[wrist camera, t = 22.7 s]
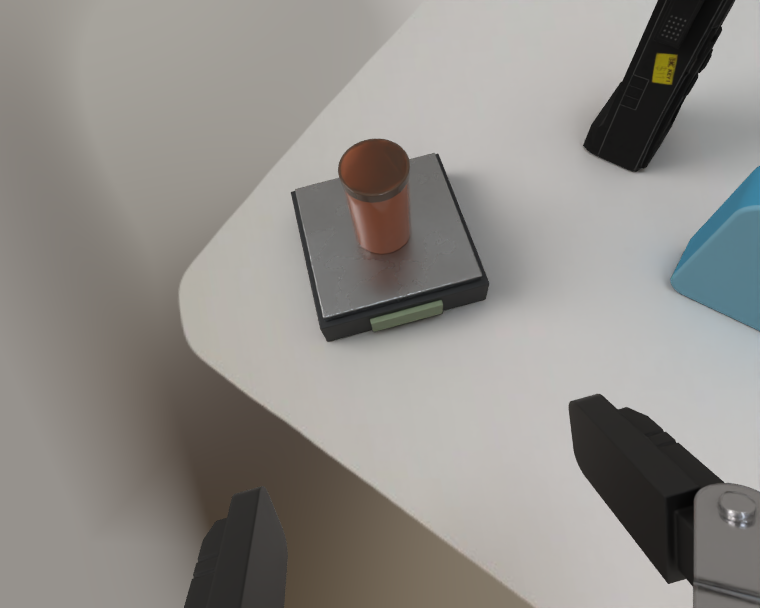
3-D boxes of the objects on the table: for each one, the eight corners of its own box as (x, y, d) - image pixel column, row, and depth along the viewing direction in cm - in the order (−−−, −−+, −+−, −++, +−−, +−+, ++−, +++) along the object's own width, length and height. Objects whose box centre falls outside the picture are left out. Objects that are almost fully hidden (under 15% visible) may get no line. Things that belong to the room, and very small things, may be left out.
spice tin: (361, 262, 40) (346, 203, 33) (348, 213, 42) (331, 148, 35) (420, 246, 40) (418, 185, 33) (404, 198, 42) (399, 130, 35)
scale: (328, 347, 41) (321, 335, 39) (298, 210, 47) (290, 191, 45) (487, 304, 42) (492, 289, 39) (437, 174, 48) (438, 153, 45)
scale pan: (325, 322, 39) (323, 318, 38) (296, 194, 44) (294, 188, 44) (481, 279, 39) (482, 275, 39) (434, 158, 45) (434, 152, 44)
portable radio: (636, 184, 45) (846, -159, 23) (575, 157, 47) (713, -185, 24) (670, 128, 48) (893, -235, 25) (611, 104, 49) (768, -253, 27)
